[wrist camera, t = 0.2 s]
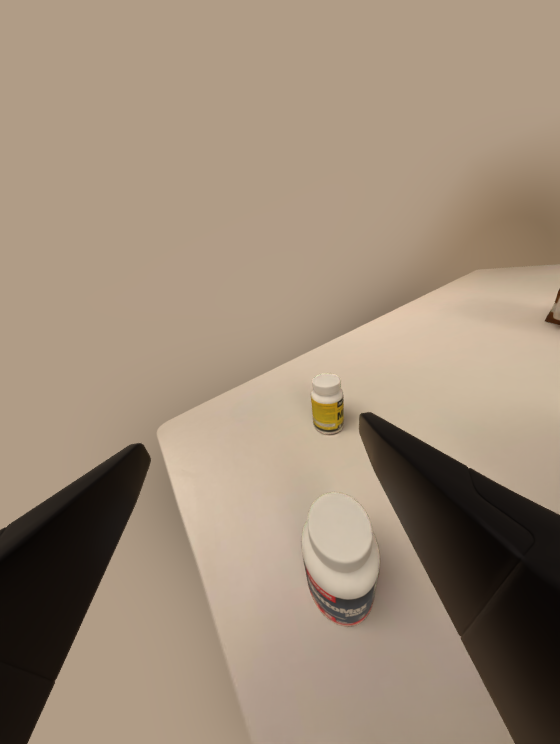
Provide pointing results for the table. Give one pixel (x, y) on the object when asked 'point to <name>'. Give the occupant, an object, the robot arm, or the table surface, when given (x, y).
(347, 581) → the pill bottle
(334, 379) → the supplement bottle
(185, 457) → the table surface
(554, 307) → the mug
